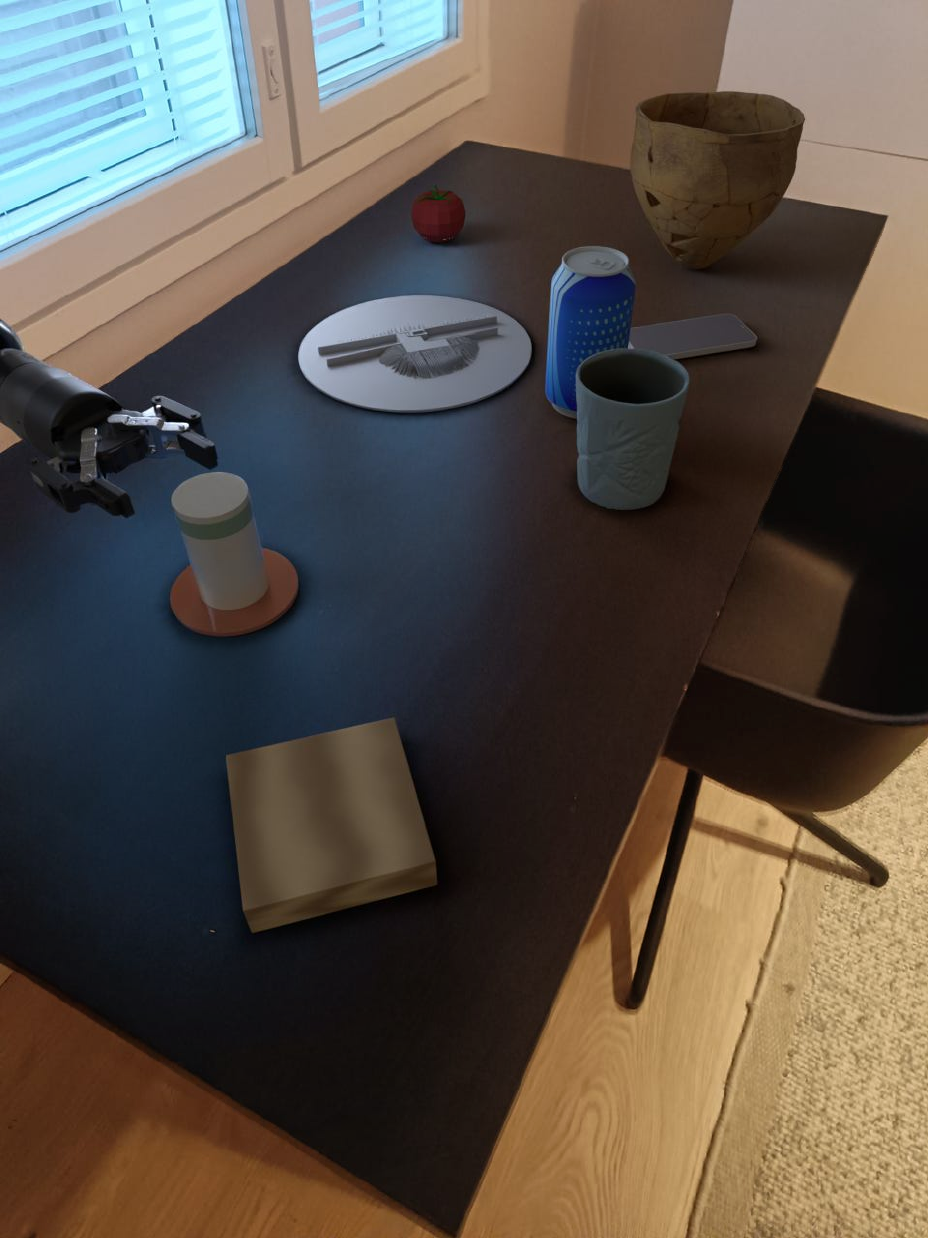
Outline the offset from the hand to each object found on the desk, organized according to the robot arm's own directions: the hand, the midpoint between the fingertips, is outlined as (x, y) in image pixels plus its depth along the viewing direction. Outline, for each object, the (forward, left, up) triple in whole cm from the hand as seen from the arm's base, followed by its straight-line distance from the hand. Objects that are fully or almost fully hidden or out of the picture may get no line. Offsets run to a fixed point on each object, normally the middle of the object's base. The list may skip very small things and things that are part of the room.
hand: (172, 482), depth 74 cm
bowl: (+70, +44, -10) cm, 83 cm away
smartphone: (+60, +25, -9) cm, 66 cm away
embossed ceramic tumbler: (+41, +1, -10) cm, 42 cm away
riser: (+7, -30, -9) cm, 32 cm away
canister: (+3, -4, -9) cm, 10 cm away
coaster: (+3, -4, -9) cm, 11 cm away
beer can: (+43, +16, -10) cm, 47 cm away
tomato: (+39, +64, -10) cm, 75 cm away
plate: (+28, +33, -10) cm, 44 cm away
